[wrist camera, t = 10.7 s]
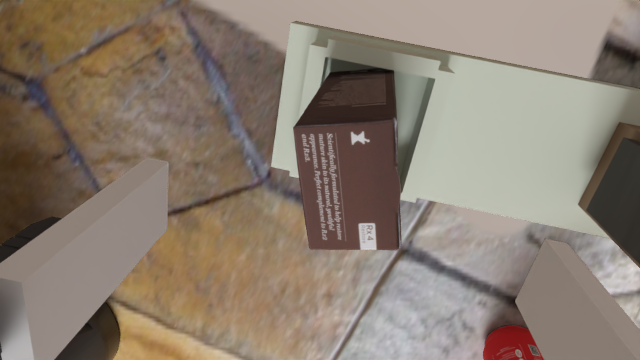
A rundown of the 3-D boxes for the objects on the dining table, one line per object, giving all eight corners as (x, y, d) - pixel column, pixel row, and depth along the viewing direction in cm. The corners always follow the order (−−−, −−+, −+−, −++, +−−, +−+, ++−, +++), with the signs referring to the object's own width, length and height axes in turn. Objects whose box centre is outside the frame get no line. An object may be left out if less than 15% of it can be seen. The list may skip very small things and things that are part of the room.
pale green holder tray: (277, 157, 32) (262, 180, 28) (296, 21, 28) (282, 25, 23) (667, 239, 31) (713, 276, 26) (750, 110, 26) (818, 131, 22)
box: (323, 71, 27) (288, 123, 16) (394, 65, 26) (408, 115, 15) (332, 158, 29) (306, 255, 18) (396, 154, 28) (410, 253, 17)
